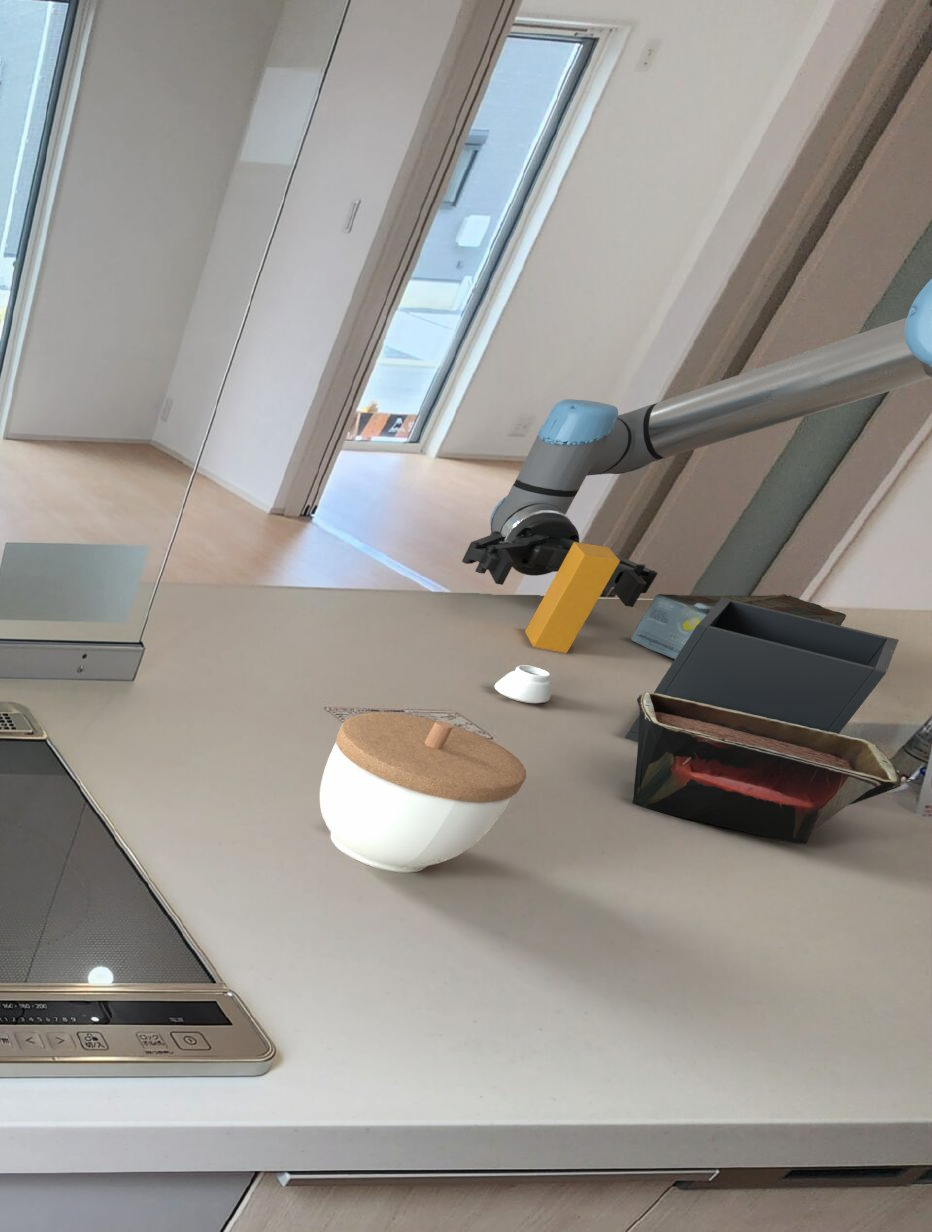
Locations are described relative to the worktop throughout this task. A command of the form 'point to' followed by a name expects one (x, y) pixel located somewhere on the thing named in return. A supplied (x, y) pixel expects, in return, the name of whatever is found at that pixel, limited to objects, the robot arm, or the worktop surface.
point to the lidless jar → (526, 685)
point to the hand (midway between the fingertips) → (569, 584)
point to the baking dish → (750, 769)
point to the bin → (777, 666)
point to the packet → (571, 596)
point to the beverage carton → (682, 613)
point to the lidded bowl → (413, 790)
